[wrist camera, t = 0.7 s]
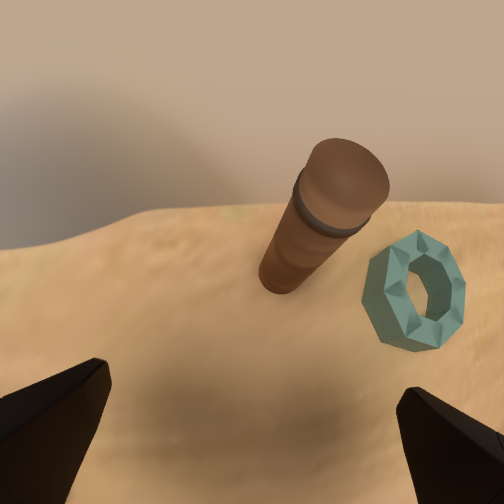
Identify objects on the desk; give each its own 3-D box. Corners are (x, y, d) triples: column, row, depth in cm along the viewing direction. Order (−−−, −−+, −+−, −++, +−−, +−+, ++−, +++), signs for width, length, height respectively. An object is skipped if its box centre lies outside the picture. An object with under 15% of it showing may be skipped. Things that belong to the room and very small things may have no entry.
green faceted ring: (452, 316, 22) (476, 308, 19) (392, 369, 20) (418, 368, 17) (413, 235, 25) (433, 220, 22) (346, 272, 23) (365, 258, 19)
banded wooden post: (310, 284, 22) (406, 197, 10) (270, 302, 21) (341, 224, 9) (289, 245, 23) (358, 131, 11) (249, 261, 22) (290, 144, 10)
